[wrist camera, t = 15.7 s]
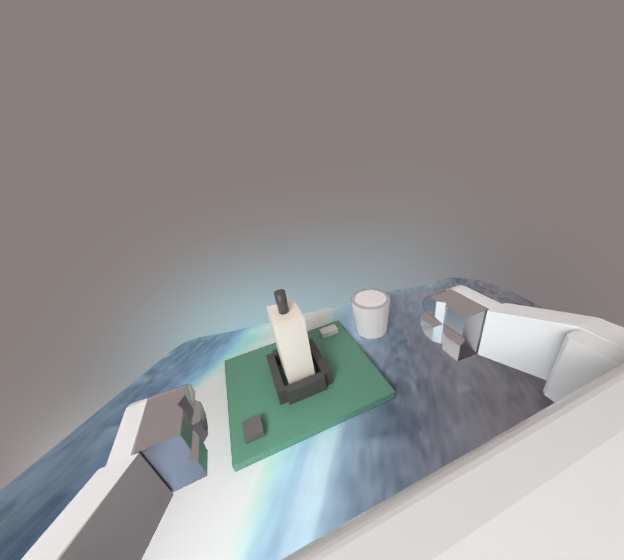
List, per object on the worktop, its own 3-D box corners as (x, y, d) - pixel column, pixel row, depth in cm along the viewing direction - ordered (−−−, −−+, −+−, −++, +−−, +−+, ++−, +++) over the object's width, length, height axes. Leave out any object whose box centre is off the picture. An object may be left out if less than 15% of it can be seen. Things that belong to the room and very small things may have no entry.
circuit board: (235, 471, 29) (226, 454, 28) (226, 365, 45) (220, 350, 43) (395, 397, 35) (395, 378, 33) (338, 325, 50) (336, 310, 48)
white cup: (396, 323, 48) (396, 292, 45) (380, 346, 44) (380, 313, 40) (363, 314, 52) (361, 285, 49) (346, 333, 48) (343, 303, 44)
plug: (291, 391, 37) (268, 306, 30) (282, 367, 41) (260, 288, 34) (316, 381, 38) (300, 296, 31) (305, 359, 42) (289, 280, 35)
